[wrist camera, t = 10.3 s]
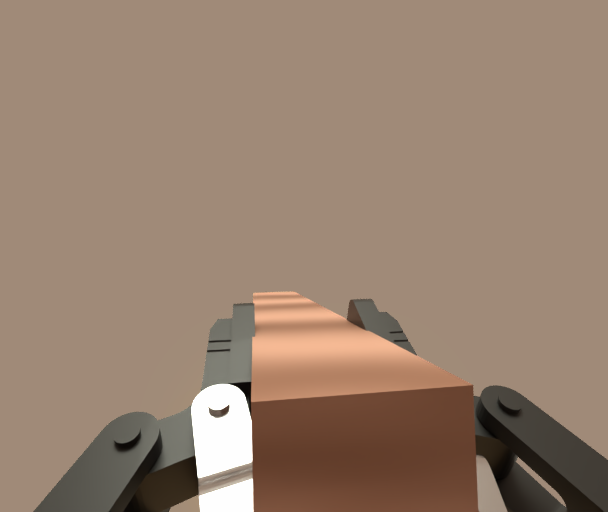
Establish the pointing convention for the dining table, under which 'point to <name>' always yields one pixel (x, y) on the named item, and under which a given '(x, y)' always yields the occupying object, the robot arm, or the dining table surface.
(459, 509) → the batten
